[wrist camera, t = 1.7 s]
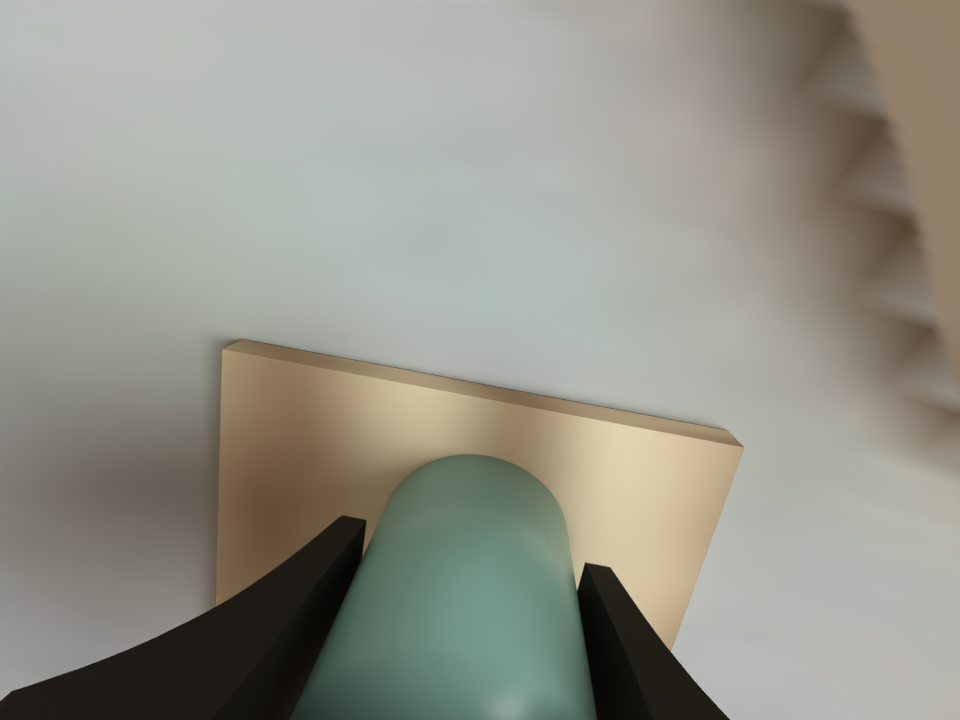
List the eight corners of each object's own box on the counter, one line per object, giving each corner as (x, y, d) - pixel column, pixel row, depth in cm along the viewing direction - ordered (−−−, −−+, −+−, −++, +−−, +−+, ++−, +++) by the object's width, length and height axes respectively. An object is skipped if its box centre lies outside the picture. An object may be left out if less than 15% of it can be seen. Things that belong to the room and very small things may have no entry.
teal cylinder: (587, 474, 13) (645, 690, 7) (545, 631, 14) (565, 917, 8) (392, 437, 13) (292, 620, 7) (371, 596, 14) (273, 856, 8)
